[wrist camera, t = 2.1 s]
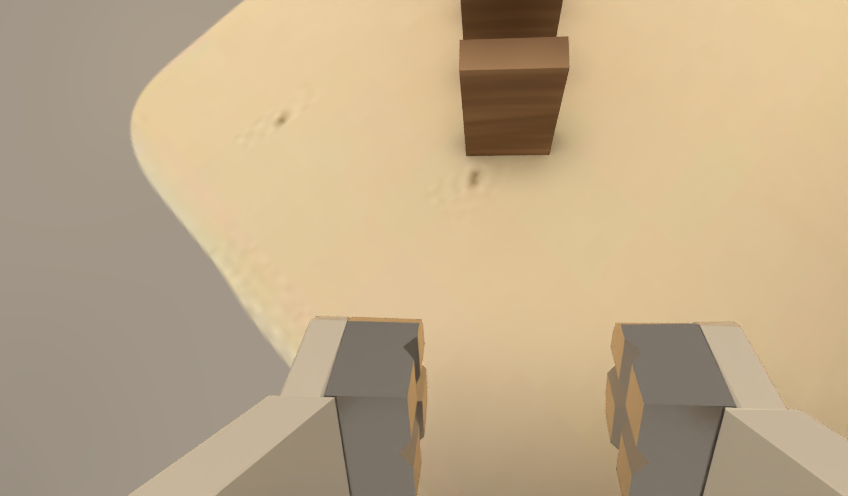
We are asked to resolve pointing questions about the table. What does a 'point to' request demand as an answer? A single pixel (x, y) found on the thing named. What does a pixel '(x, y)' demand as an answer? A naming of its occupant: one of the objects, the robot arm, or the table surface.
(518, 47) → the domino
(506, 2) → the domino
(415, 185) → the table surface
